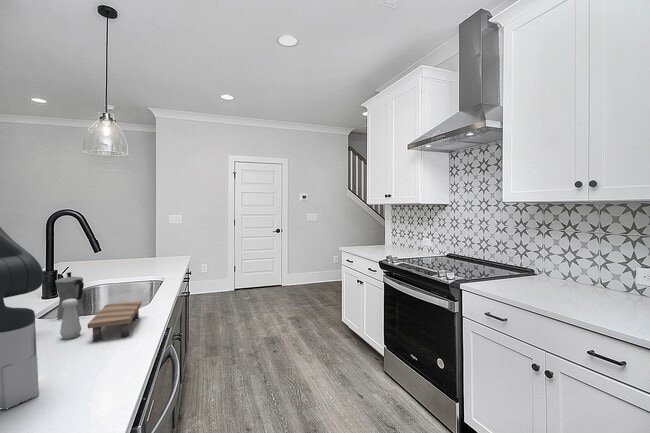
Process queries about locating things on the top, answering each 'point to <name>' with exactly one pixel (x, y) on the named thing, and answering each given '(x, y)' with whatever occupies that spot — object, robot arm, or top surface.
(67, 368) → the top surface
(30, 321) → the robot arm
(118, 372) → the top surface
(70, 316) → the salt shaker
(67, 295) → the coffeepot
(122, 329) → the slatted wooden bench
